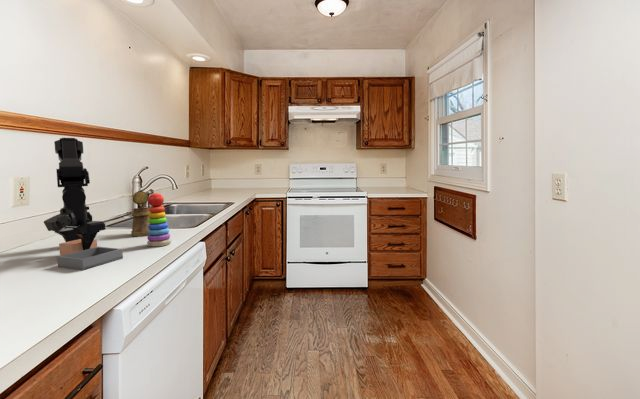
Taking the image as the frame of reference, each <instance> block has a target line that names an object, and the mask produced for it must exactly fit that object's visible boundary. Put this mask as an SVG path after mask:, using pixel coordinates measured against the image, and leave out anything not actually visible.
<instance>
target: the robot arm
mask: <svg viewBox="0 0 640 399" xmlns="http://www.w3.org/2000/svg"><path fill="white" fill-rule="evenodd" d="M83 142H84V141H81V140H78V138H75V137H61V138H59V140H58V139H57V140H55V141H54V142H53V143H54V153H55V154H57V158H58V160H59V162H58V168H56V180H57V188H63V190H62V191H61V193H62V195H61V198H62V202H63V207H60V210H59V214H55V215H54V216H51V217H50V218H46V219H45V220H44V221H43V223H44V226H45V228H46V229H47V231H48V232H51V231H52V232H54V233H55V234H58V235H60V236H61V237H62V238H63V240H64V241H65V242H69V241H74V240H78V239H81V241H82V247H83V250H87V249H90V247H91V245H92V242H93V240H94V239H95V238H96V236H97V235H98V233H100V232H101V231H105V230H106V223H105V222H104V221H99V220H93V215H92V214H91V213H90V211H88V210H90V206H87V204H86V199H87V196H86V193H85V189H84V188H83V187H89V186H88V185H89V184H90V183H91V182H90V181H91V180H90V174H89V171H88V170H87V168H85V167H84V165H83V164H84V163H83V162H82V155H83V154H84V144H83Z"/></svg>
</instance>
